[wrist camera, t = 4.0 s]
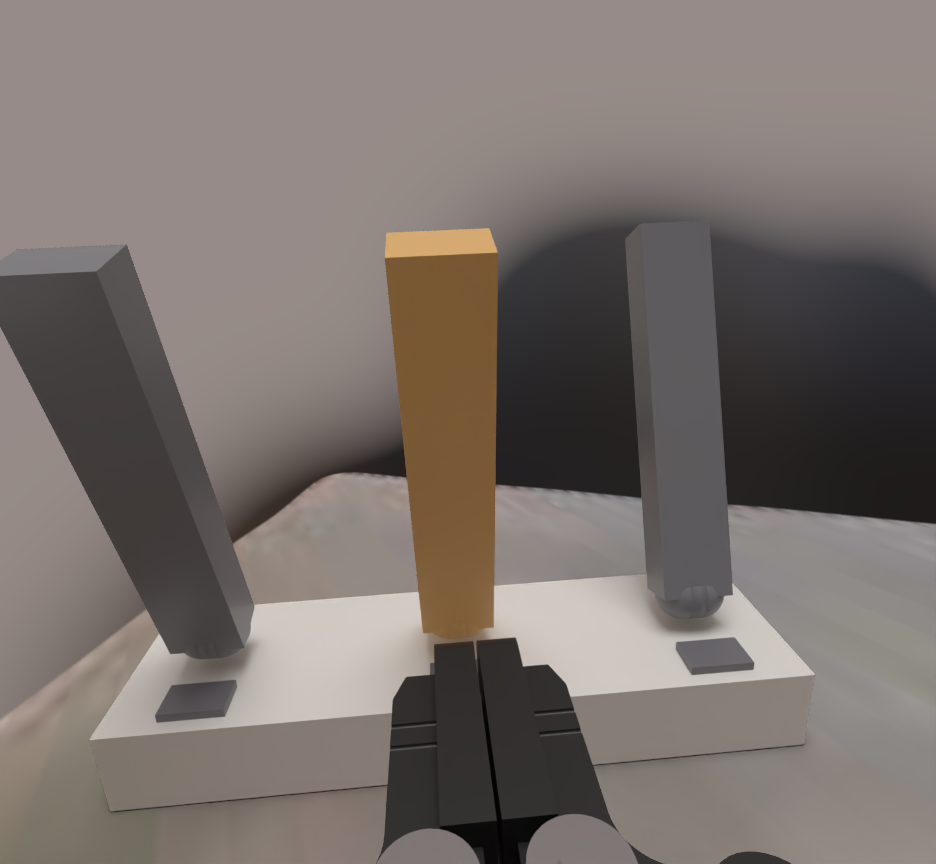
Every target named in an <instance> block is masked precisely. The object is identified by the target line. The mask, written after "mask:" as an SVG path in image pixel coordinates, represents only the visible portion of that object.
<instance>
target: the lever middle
mask: <svg viewBox="0 0 936 864" xmlns="http://www.w3.org/2000/svg"><path fill="white" fill-rule="evenodd" d="M385 265H386V273H387V274H386V275H387V285H388V294H389V304H390V314H391V324H392V333H393V343H394V354H395V363H396V373H397V383H398V393H399V402H400V412H401V423H402V432H403V442H404V452H405V462H406V472H407V482H408V492H409V502H410V512H411V521H412V531H413V541H414V551H415V561H416V571H417V581H418V590H419V600H420V610H421V620H422V630H423V633H433V634H434V635H436V636H438V637H440V638H444V639H455V638H467V637H472V636H474V635H477V634H478V633H480V632H481V631H482V630H483V629H484V628H494V553H495V461H496V459H495V458H496V457H495V456H496V452H495V451H496V367H497V366H496V364H497V276H498V272H497V271H498V269H497V268H498V252H497V249H496V246H495V244H494V241H493V238H492V235H491V232H490V230H489V228H487V229H465V230H464V229H462V230H441V231H418V232H396V233H387V237H386V250H385Z"/></svg>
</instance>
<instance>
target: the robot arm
mask: <svg viewBox="0 0 936 864" xmlns="http://www.w3.org/2000/svg"><path fill="white" fill-rule="evenodd" d="M476 654H477V665H476V657H475V650H474V643H473V641H467V642H455V643H443V644H434V665H435V674H433V675H422V676H410V677H406V678H405V679H404V681H403V683H402V685H401V686H400V688H399V690H398V691H397V693H396V695H395V696H394V698H393V704H392V720H391V737H390V753H389V770H388V786H387V803H386V819H385V835H384V843H383V847H382V850H381V854H380V856H379V858H378V860H377V863H376V864H663V863H660V862H658V861H655V860H653V859H651V858H649V857H647V856H646V855H644V854H642V853H641V852H639V851H638V850H637V849H635V848H634V847H633V846H631V845H630V844H629V843H628V842H627V841H626V840H625V839H624V837H623V836H622V835H621V834H620V833H619V832H618V830H617V829H616V827H615V826H614V824H613V822H612V820H611V818H610V816H609V813H608V810H607V807H606V804H605V801H604V798H603V795H602V792H601V789H600V786H599V783H598V780H597V777H596V774H595V771H594V767H593V764H592V761H591V758H590V755H589V752H588V749H587V746H586V743H585V740H584V737H583V734H582V733H581V728H580V725H579V722H578V718H577V715H576V713H575V712H574V706H573V703H572V700H571V697H570V694H569V691H568V688H567V685H566V683H565V682H564V681H563V680H562V679H561V678H560V677H559V676H558V675H557V673H556V672H555V671H554V670H553V669H552V668H551V667H550V666H549V665H548V664H546V665H534V666H523V664H522V659H521V655H520V651H519V647H518V643H517V639H516V637H512V638H501V639H489V640H477V641H476ZM720 864H791V863H789V862H787V861H785V860H783V859H781V858H778V857H776V856H773V855H769V854H766V853H760V852H741V853H736V854H734V855H731V856H729V857H727V858H726V859H724V860H723V861H722V862H721V863H720Z"/></svg>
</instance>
